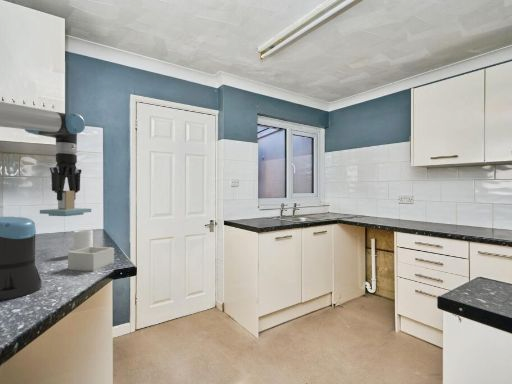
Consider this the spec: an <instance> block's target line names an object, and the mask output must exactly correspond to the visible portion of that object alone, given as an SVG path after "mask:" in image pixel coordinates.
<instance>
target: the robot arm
mask: <svg viewBox="0 0 512 384" xmlns="http://www.w3.org/2000/svg"><path fill="white" fill-rule="evenodd" d="M0 128H11V129H17V130H18V129H20V130H24V131H25V132H26V133H28V134H29V133H30V134H32V135H36V136H43V137H49V138H54V139H55V152H56V153H55V162H56V165H55V166H54V167H52V166H51V167H50V168H49V170H50V171H49V172H50V173H51V174H50V178H51V191H52V192H54V193H56V201H57V206H58V207H57V209H59V208H65V193H63V191H65V190H64V189H65V184H66V179H67V184H68V191H74V208H75V205H76V204H75V203H76V202H75V201H76V194H77V193H78V192H80V190H81V174H82V169H79V168H78V167H77V166H76V164H77V162H78V156H77V153H78V148H77V147H78V134H80V133H82V132H83V131H84V130H85V129H86V122H85V119H84V118H83V117H82V115H80V114H79V113H75V112H68V113H64V112H57V111H53V110H46V109H43V108H42V109H41V108H37V107H32V106H31V107H30V106H25V105H20V104H15V103H10V102H3V101H0ZM36 233H37V230H36V223H35V221H34V220H33V219H32V218H27V217H23V216H0V301H2V300H3V301H4V300H10V299H15V298H21V297H23V296H26V295H30V294H33V293H35V292H37V291H39V290H40V289H41V288H42V282H43V281H42V278H41V277H40V273H39V271H38V269H37V266H36Z"/></svg>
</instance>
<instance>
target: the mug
mask: <svg viewBox="0 0 512 384" xmlns="http://www.w3.org/2000/svg"><path fill="white" fill-rule="evenodd" d="M93 233H94V230H93V229H80V230H79V229H78V230H74V231H73V233H71V234H70V235H68V236H66V239H65V242H64V243H65V247H66V248H67V249H68V250H69V251H75V250H79V249H83V248H87V247H94V245H93V244H94V242H93V237H94V234H93ZM71 237H73V247H70V246H68V245H67V241H68V239H69V238H71Z"/></svg>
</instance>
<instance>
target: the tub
mask: <svg viewBox="0 0 512 384" xmlns="http://www.w3.org/2000/svg"><path fill="white" fill-rule="evenodd" d="M114 264H115V247H108V246H106V247H104V246H93V247H87V248H83V249H79V250H75V251H74V250H70V251H68V252H67V270H69V271H70V270H72V271H84V272H96V271H98V270H100V269H103V268H107V267H108V266H112V265H114Z"/></svg>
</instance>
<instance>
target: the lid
mask: <svg viewBox="0 0 512 384" xmlns="http://www.w3.org/2000/svg"><path fill="white" fill-rule="evenodd" d="M63 193H65V208H52V209H51V208H50V209H49V208H48V209H39V214H40V215H41V214H43V215H44V214H45V215H48V216H49V217H72V216H82V215H84V214H85V213H92V208H85V207H84V208H82V207H80V208H79V207H78V208H77V207H76V208H74V191H69V190H63Z"/></svg>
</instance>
